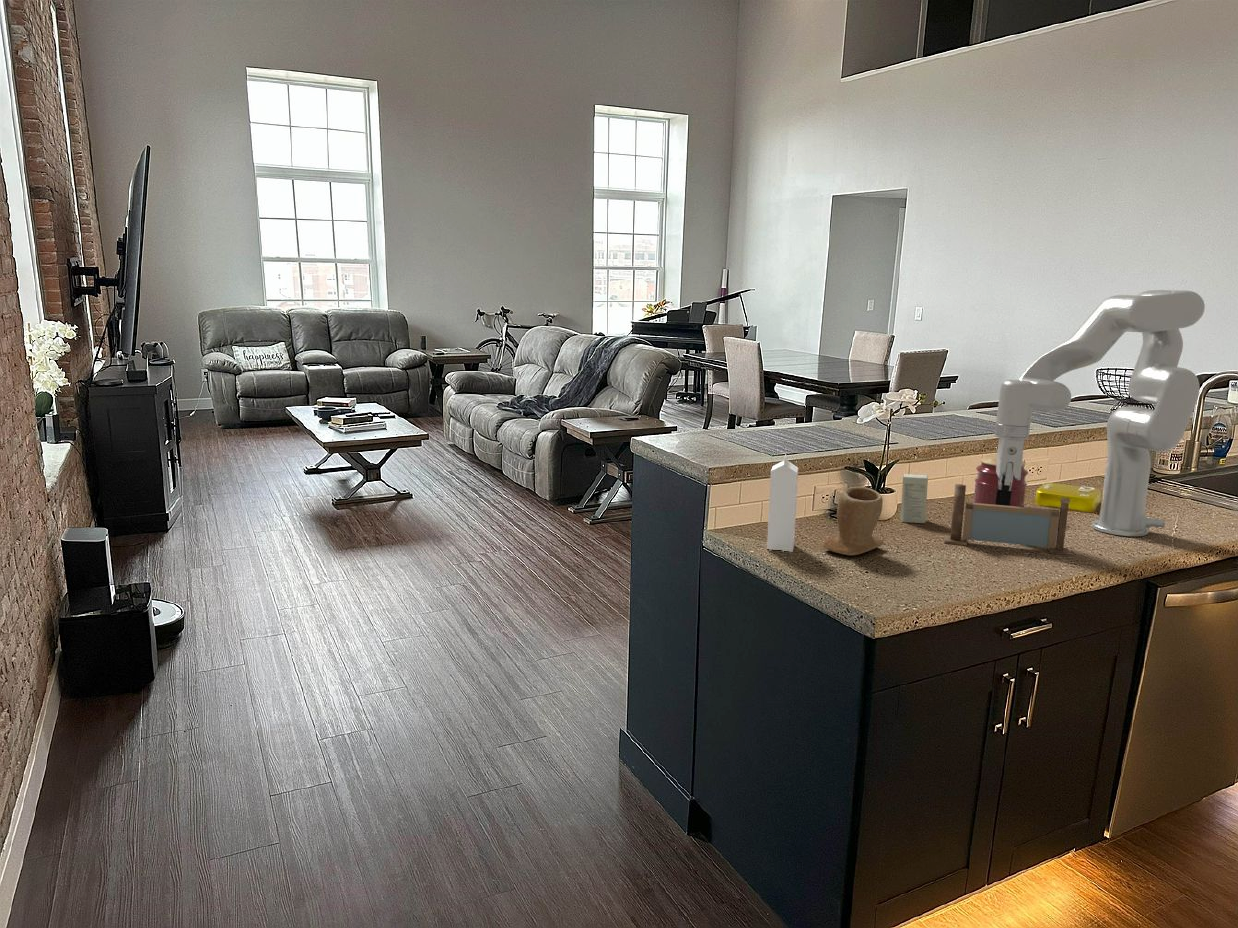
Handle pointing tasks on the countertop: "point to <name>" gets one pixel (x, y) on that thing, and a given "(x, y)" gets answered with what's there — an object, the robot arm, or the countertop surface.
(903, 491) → the skincare box
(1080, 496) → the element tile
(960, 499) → the gate frame
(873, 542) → the stone cup
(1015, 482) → the canister
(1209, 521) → the countertop surface
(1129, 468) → the robot arm
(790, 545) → the milk
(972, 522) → the panel
